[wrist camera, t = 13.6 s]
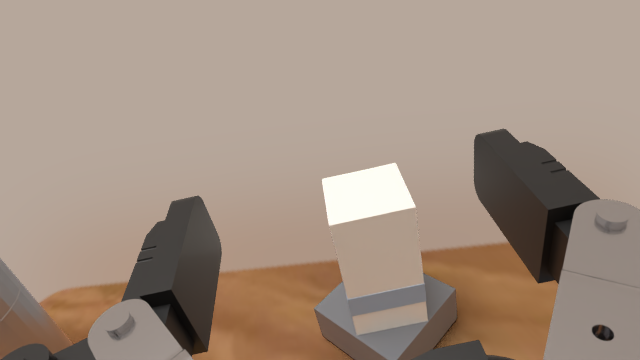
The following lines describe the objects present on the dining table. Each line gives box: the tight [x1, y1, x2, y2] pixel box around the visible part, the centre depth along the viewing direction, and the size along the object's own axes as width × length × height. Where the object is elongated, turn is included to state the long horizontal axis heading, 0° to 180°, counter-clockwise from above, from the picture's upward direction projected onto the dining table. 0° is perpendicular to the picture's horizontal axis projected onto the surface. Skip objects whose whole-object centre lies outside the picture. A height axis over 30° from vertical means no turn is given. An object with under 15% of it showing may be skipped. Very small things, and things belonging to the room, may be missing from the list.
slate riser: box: [314, 273, 457, 360], centre depth 39 cm, size 9×9×4 cm
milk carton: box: [322, 163, 428, 335], centre depth 34 cm, size 6×6×12 cm
